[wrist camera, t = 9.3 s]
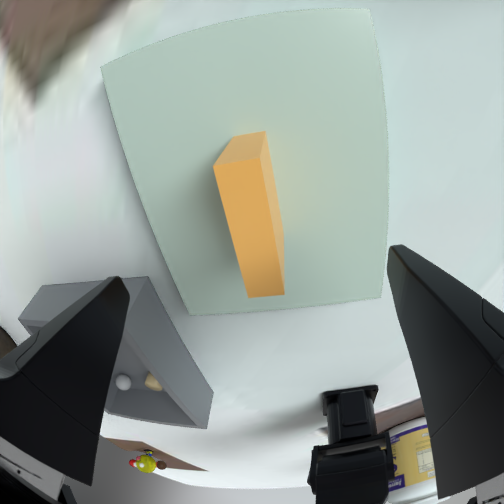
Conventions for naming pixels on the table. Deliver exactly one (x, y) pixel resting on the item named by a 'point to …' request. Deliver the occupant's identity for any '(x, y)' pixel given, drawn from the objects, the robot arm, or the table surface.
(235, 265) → the lid
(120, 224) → the table surface
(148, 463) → the toy figure
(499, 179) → the table surface
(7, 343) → the pitcher
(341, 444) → the robot arm
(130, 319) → the tub
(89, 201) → the table surface
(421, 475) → the supplement tub
